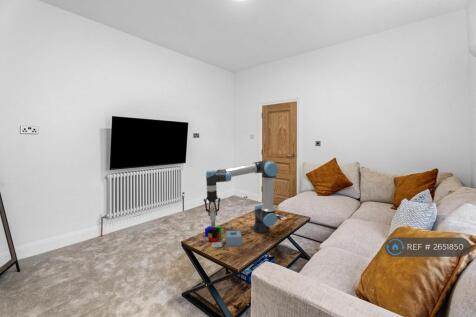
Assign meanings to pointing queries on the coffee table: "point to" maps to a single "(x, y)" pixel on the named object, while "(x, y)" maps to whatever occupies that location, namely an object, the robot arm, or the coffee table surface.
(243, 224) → the coffee table surface
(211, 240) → the puzzle toy
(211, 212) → the chuck key
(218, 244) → the tool mat
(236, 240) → the block
